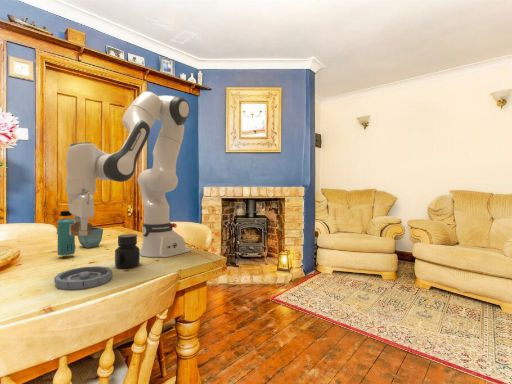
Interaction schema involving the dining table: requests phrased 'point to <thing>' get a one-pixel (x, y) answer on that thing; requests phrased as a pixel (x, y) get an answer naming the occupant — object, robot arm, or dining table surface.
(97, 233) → the flower pot
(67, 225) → the beverage bottle
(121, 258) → the ink bottle
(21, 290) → the dining table surface
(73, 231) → the bead loop
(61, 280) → the groove tray
